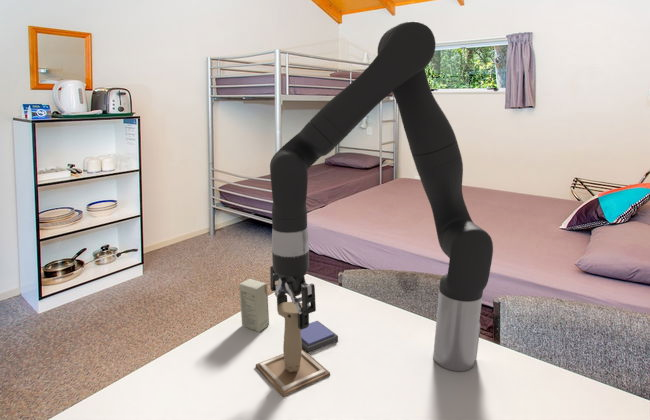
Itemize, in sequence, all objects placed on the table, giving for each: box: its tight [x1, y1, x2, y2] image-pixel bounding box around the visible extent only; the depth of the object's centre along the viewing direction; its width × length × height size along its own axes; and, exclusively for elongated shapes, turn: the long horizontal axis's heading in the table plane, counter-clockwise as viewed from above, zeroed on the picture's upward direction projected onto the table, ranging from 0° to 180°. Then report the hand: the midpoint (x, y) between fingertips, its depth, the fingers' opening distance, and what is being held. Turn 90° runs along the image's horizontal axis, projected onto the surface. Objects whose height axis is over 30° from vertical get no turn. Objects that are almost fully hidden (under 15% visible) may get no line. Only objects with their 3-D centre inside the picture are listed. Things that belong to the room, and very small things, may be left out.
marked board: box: [255, 349, 331, 397], centre depth 95 cm, size 12×12×1 cm
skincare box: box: [238, 278, 270, 333], centre depth 112 cm, size 6×4×12 cm
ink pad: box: [301, 320, 339, 354], centre depth 107 cm, size 9×9×2 cm
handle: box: [277, 301, 302, 372], centre depth 93 cm, size 5×6×15 cm
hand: (292, 319), depth 92 cm, fingers open, 8 cm apart
